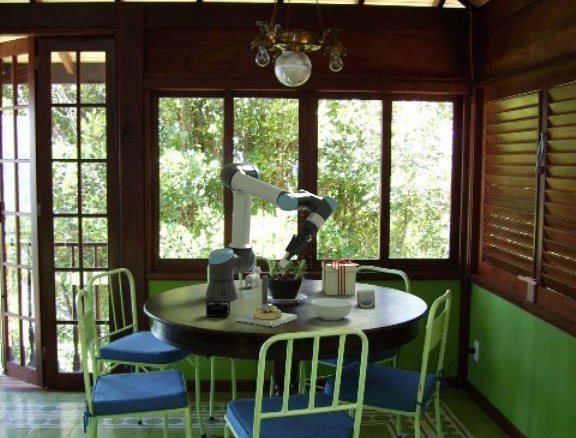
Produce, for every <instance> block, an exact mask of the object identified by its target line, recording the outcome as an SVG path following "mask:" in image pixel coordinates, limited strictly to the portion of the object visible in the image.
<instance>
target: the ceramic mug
mask: <svg viewBox="0 0 576 438" xmlns="http://www.w3.org/2000/svg"><path fill="white" fill-rule="evenodd" d="M375 292H376V291H375V288H368V289H359V290H357V291H356V301H357V302H356V303H357V306H360V307H361V308H363V309H370V308H372V307H375V306H376V294H375Z"/></svg>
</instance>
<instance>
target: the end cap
mask: <svg viewBox="0 0 576 438" xmlns="http://www.w3.org/2000/svg"><path fill="white" fill-rule="evenodd" d="M205 315H206V319H207V318H228V319H229V317H230V315H231V300H230V301H211V300H206V301H205ZM228 316H229V317H228Z"/></svg>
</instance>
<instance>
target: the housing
mask: <svg viewBox="0 0 576 438" xmlns="http://www.w3.org/2000/svg"><path fill="white" fill-rule="evenodd" d="M273 306H274V305H273V303H265V304H262V303H261V307H262V310H264V313H272V310H273ZM297 319H298V315H297V314H293V313H286V312H281V317H279V318H275V319H260V318H255V317H254V311H253V312H251V313H248V314H243V315H242V316H239V317H237V318H236V322H237V321H241V322H240V323H243V322H247V323H246V324H250V323H253V324H252V325H256V324H259V325H258V326H263V325H265V327H269V326H272V327H271V328H276V327H278V325H279V326H281V325H283V323H284V324H287V323H290V322H291V321H294V320H297ZM280 324H281V325H280ZM275 326H276V327H275Z"/></svg>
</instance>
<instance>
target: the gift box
mask: <svg viewBox="0 0 576 438" xmlns="http://www.w3.org/2000/svg"><path fill="white" fill-rule="evenodd" d="M351 261H353V259H352V258H341V259H339V260H336V259H333V258H328V259H327V258H326V259H324V260H322V261H321V268H322V271H321V291H322V292H324V294H326V295H327V296H355V295H356V284H357V283H356V278H357V277H356V276H357V274H356V273H357V271H358V270H357V269H358V267H360V266H361V265H360V264H359V263H355V262H351ZM357 266H358V267H357Z"/></svg>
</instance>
